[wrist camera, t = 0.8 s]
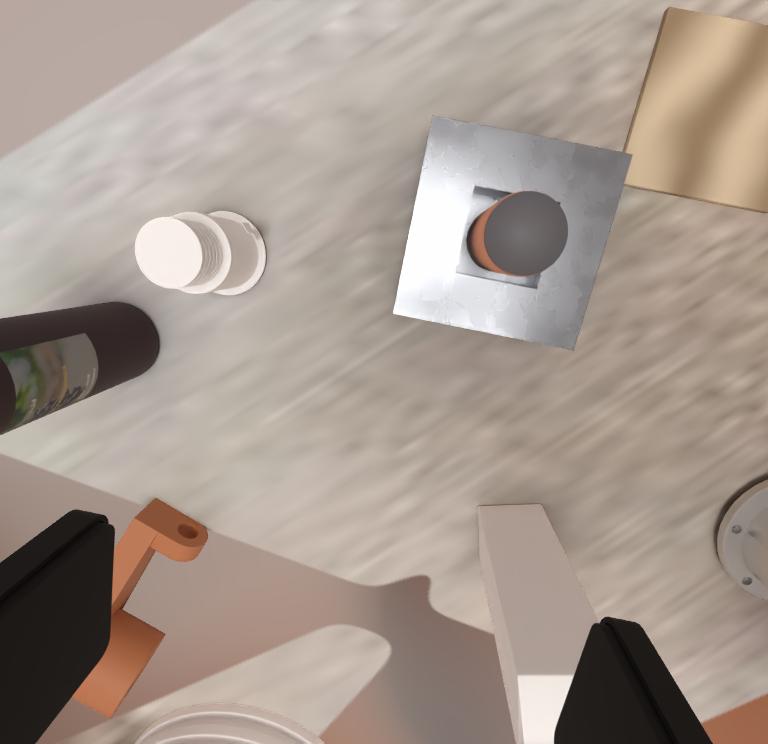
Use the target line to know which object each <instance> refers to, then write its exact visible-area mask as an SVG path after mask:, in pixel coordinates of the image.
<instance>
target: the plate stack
mask: <svg viewBox="0 0 768 744" xmlns="http://www.w3.org/2000/svg"><path fill="white" fill-rule="evenodd" d="M134 744H325V743H324V742H323V741H322V740H321V739H320V738H319V737H316V736H315V735H314V734H312V733H311V732H309V731H308V730H307V729H305V728H304V727H302V726H300V725H299V724H297V723H295V722H293V721H291V720H289V719H287V718H285V717H283V716H281V715H278V714H276V713H273V712H270V711H267V710H264V709H261V708H257V707H253V706H248V705H242V704H233V703H207V704H199V705H193V706H189V707H185V708H182V709H179V710H176V711H173V712H171V713H169V714H167V715H165V716H163V717H161V718H160V719H158V720H157V721H155V722H154V723H152V724H151V725H150V726H149V727H148V728H147V729H146V730H144V732H143V733H142V734H141V735H140V736H139V737H138V739H137V740H136V742H135V743H134Z"/></svg>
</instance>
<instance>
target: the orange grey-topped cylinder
mask: <svg viewBox="0 0 768 744" xmlns="http://www.w3.org/2000/svg"><path fill="white" fill-rule="evenodd" d="M567 238H568V223H567V218H566V215H565V213H564V211H563V209H562V208H561V206H560V205H559V204H558V203H557V202H556V201H555V200H554V199H553V198H551V197H550V196H548V195H546V194H543V193H540V192H536V191H519V192H516V193H512V194H510V195H508V196H506V197H504V198H503V199H501V200H500V201H498V202H497V203H496V204H494V205H493V206H491V207H490V208H488V209H487V210H485V211H484V212H482V213H481V214H480V215H478V216H477V217H476V218H475V219H474V221H473V222H472V224H471V225H470V227H469V230H468V233H467V238H466V245H467V250H468V253H469V255H470V257H471V259H472V260H473V261H474V263H475V264H476V265H478V266H479V267H481V268H482V269H485V270H488V271H492V272H496V273H501V274H506V275H510V276H516V277H527V276H532V275H536V274H538V273H540V272H542V271H544V270H546V269H547V268H549V267H550V266H551V265H552V264H554V263H555V262H556V261H557V259H558V258H559V257H560V255H561V254H562V252H563V250H564V248H565V245H566V243H567Z"/></svg>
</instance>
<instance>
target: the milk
mask: <svg viewBox="0 0 768 744" xmlns="http://www.w3.org/2000/svg"><path fill="white" fill-rule="evenodd" d="M478 530H479V558H480V565H481V570H482V575H483V580H484V585H485V590H486V595H487V600H488V605H489V610H490V615H491V620H492V625H493V630H494V635H495V640H496V645H497V650H498V655H499V660H500V665H501V670H502V675H503V680H504V685H505V690H506V695H507V700H508V706H509V711H510V716H511V721H512V726H513V731H514V736H515V740H516V744H554V732H555V728H556V725H557V722H558V719H559V716H560V713H561V711H562V708H563V705H564V702H565V699H566V697H567V694H568V691H569V688H570V685H571V682H572V680H573V677H574V674H575V671H576V668H577V665H578V663H579V660H580V657H581V654H582V651H583V648H584V646H585V643H586V640H587V637H588V634H589V631H590V629H591V627H592V625H593V624H594V623H599V621H598V619H597V617H596V615H595V612H594V610H593V608H592V606H591V604H590V602H589V600H588V598H587V596H586V594H585V592H584V590H583V588H582V586H581V584H580V582H579V580H578V578H577V576H576V574H575V572H574V570H573V568H572V566H571V564H570V562H569V560H568V558H567V556H566V554H565V552H564V550H563V547H562V545H561V543H560V541H559V539H558V537H557V535H556V533H555V531H554V529H553V527H552V525H551V523H550V521H549V519H548V517H547V515H546V513H545V511H544V509H543V507H542V505H541V504H524V505H494V506H478Z"/></svg>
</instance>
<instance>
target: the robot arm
mask: <svg viewBox="0 0 768 744" xmlns="http://www.w3.org/2000/svg"><path fill="white" fill-rule="evenodd" d="M114 537H115V529H114V527H113V526H112V525H110V524H108V519H107V517H106V516H105V515H101V514H96V513H92V512H87V511H82V510H72V511H70V512H68V513H67V514H65V515H64V516H63V517H61V518H60V519H59V520H57V521H56V522H55V523H53V524H52V525H51V526H49V527H48V528H47V529H45V530H44V531H42V532H41V533H40V534H38V535H37V536H36V537H34V538H33V539H32V540H30V541H29V542H28V543H26V544H25V545H24V546H22V547H21V548H20V549H18V550H17V551H16V552H14V553H13V554H11V555H10V556H9V557H8V558H6V559H5V560H3V561H2V562H1V563H0V744H35V743H36V742H37V741H38V739H39V738H40V737H41V736H42V734H43V733H44V732H45V730H46V729H47V728H48V727H49V725H50V724H51V723H52V721H53V720H54V719H55V718H56V716H57V715H58V714H59V712H60V711H61V710H62V709H63V707H64V706H65V704H66V703H67V702H68V701H69V700H70V698H71V697H72V696H73V694H74V693H75V692H76V691H77V689H78V688H79V687H80V685H81V684H82V683H83V682H84V680H85V679H86V678H87V677H88V675H89V674H90V673H91V671H92V670H93V669H94V668H95V666H96V665H97V664H98V662H99V661H100V660H101V658H102V657H103V655H104V653H105V651H106V649H107V647H108V644H109V641H110V633H111V610H112V586H113V563H114ZM717 550H718V555H719V559H720V561H721V563H722V565H723V568H724V569H725V571H726V572H727V573H728V574H729V576H730V577H731V578H732V579H733V580H734V581H735V582H736V583H737V584H738V585H739V586H740V587H741V588H742V589H744V590H746V591H747V592H749V593H750V594H752V595H754V596H757V597H759V598H762V599H764V600H768V479H767V480H765V481H763V482H761V483H759V484H757V485H755V486H754V487H752V488H751V489H749V490H748V491H746V492H745V493H743V494H742V495H741V496H740V497H739V498H738V499H737V500H736V501H735V502H734V503H733V504H732V506H731V507H730V508H729V510H728V511H727V513H726V514H725V516H724V518H723V520H722V522H721V524H720V528H719V532H718V536H717ZM554 744H713V743H712V742H711V740H710V738H709V737H708V735H707V733H706V732H705V730H704V728H703V727H702V725H701V723H700V722H699V720H698V719H697V717H696V715H695V714H694V712H693V710H692V709H691V707H690V705H689V704H688V702H687V700H686V699H685V697H684V695H683V694H682V692H681V691H680V689H679V687H678V686H677V684H676V682H675V681H674V679H673V677H672V676H671V674H670V672H669V671H668V669H667V667H666V666H665V664H664V662H663V661H662V659H661V658H660V656H659V654H658V653H657V651H656V649H655V648H654V646H653V644H652V643H651V641H650V639H649V638H648V636H647V634H646V633H645V631H644V629H643V628H642V627H641V626H640V624H638V623H636V622H631V621H626V620H621V619H616V618H611V617H604V618H603V619H602V620H601V622H600V623H594V624H593V625H592V627H591V629H590V631H589V634H588V637H587V640H586V643H585V646H584V648H583V651H582V654H581V657H580V660H579V663H578V665H577V668H576V671H575V674H574V677H573V680H572V682H571V685H570V688H569V691H568V694H567V697H566V699H565V702H564V705H563V708H562V711H561V713H560V716H559V719H558V722H557V725H556V728H555V732H554Z"/></svg>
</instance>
